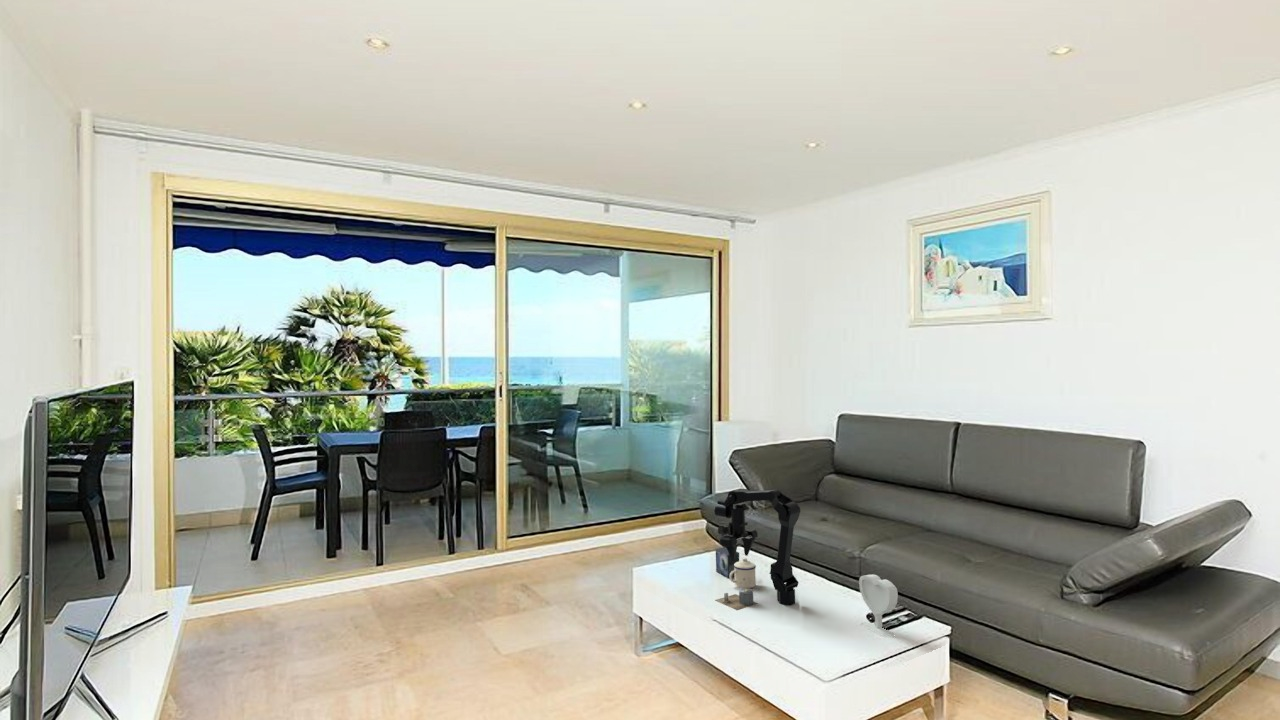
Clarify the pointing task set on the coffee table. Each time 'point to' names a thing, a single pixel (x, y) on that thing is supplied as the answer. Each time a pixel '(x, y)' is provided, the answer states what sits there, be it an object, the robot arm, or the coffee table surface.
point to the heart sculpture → (878, 600)
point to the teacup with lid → (744, 574)
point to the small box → (725, 562)
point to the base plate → (733, 601)
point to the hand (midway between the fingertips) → (739, 558)
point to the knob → (746, 596)
